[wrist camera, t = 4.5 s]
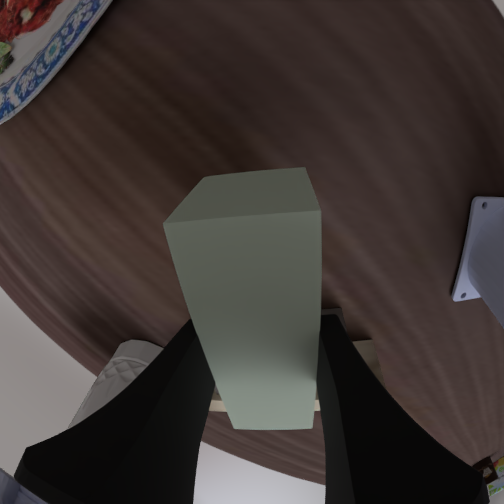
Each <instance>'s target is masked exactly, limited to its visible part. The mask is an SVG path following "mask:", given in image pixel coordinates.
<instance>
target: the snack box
mask: <svg viewBox="0 0 504 504" xmlns="http://www.w3.org/2000/svg"><path fill="white" fill-rule="evenodd" d="M493 465H494V468H495V470H496V472H497V475H498V477H499V479H498V480H496V481H495V482H493V483H491V484H490V485H488V487H489V493H490V496H492V495H494V494H496V493H498V492H499V491H501V490H503V489H504V456H503V457H502V458H500V459H499V460H497V461H496V462H494V463H493Z"/></svg>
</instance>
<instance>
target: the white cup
mask: <svg viewBox="0 0 504 504" xmlns="http://www.w3.org/2000/svg"><path fill="white" fill-rule="evenodd" d="M163 349H164V348H162V347H160V346H157V345H155V344H152V343H150V342H147V341H141V340H129V341H126V342H123V343H121V344H120V345H119V347H118V349H117V350H116V352H115V354H114V355H113V357H112V358H111V360H110V361H109V363H108V364H107V365H106V366H105V367H104V369H103V370H102V372H101V373H100V375H99V376H98V378H97V379H96V381H95V382H94V384H93V385H92V387H91V389H90V391H89V392H88V394H87V396H86V397H85V399H84V401H83V402H82V404H81V406H80V408H79V410H78V411H77V413H76V415H75V416H74V418H73V420H72V422H71V423H70V425H69V427H68V429H69V428H71V427H73V426H74V425H76V424H78V423H79V422H81V421H83V420H84V419H85V418H87V417H88V416H90V415H91V414H93V413H94V412H96V411H97V410H99V409H100V408H101V407H103V406H104V405H105V404H107V403H108V402H109V401H111V400H112V399H113V398H114V397H115V396H117V395H118V394H119V393H120V392H121V391H123V390H124V389H125V388H126V387H127V386H128V385H129V384H130V383H131V382H132V381H133V380H134V379H135V378H136V377H137V376H138V375H139V374H140V373H141V372H142V371H143V370H144V369H145V368H146V367H147V366H148V365H149V364H150V363H151V362H152V361H153V360H154V359H155V358H156V357H157V355H158V354H159V353H160V352H161V351H162V350H163Z"/></svg>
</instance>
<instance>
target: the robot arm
mask: <svg viewBox="0 0 504 504" xmlns="http://www.w3.org/2000/svg"><path fill="white" fill-rule="evenodd" d="M483 203H484V206H483V207H482V204H483ZM451 297H452V299H453V300H454V301H462V300H468V299H473V298H478V297H482V299H483V300H484V301H485V303H486V304H487V306H488V307H489V308H490V310H491V311H492V312H493V314H494V315H495V317H496V318H497V320H498V321H499V322H500V324H501V325H502V327H503V328H504V197H482V196H477V197H475V198H474V199H473V200H472V204H471V211H470V217H469V223H468V229H467V234H466V239H465V244H464V249H463V253H462V258H461V262H460V266H459V270H458V274H457V278H456V281H455V285H454V288H453V292H452V296H451ZM215 384H216V382H215V380H214V377H213V375H212V372H211V370H210V367H209V364H208V362H207V359H206V356H205V354H204V351H203V348H202V345H201V343H200V340H199V337H198V334H197V333H196V330H195V328H194V325H193V322H192V319H189V320H188V321H187V323H186V324H185V325H184V326H183V327H182V328H181V329H180V330H179V332H178V333H177V334H176V335H175V336H174V337H173V338H172V340H171V341H170V342H169V343H168V344H167V345H166V347H165V348H164V349H163V350H162V351H161V352H160V353H159V354H158V355H157V357H156V358H155V359H154V360H153V361H152V362H151V363H150V364H149V365H148V366H147V367H146V368H145V369H144V370H143V371H142V372H141V373H140V374H139V375H138V376H137V377H136V378H135V379H134V380H133V381H132V382H131V383H130V384H129V385H128V386H127V387H126V388H125V389H124V390H123V391H121V392H120V393H119V394H118V395H117V396H115V397H114V398H113V399H112V400H111V401H109V402H108V403H107V404H105V405H104V406H103V407H101V408H100V409H99V410H97V411H96V412H94V413H93V414H91V415H90V416H88V417H87V418H85V419H84V420H83V421H81V422H79V423H78V424H76V425H74V426H73V427H71V428H69V429H67V430H65V431H64V432H62V433H60V434H58V435H56V436H54V437H51V438H49V439H47V440H45V441H42V442H40V443H37V444H35V445H32V446H30V447H27V448H26V449H25V452H24V454H23V456H22V458H21V460H20V463H19V465H18V467H17V470H16V472H15V474H14V477H12V476H11V475H9V474H8V473H6V472H5V471H4V470H3V469H2V468H0V504H193V497H194V486H195V476H196V468H197V461H198V453H199V447H200V442H201V438H202V434H203V430H204V426H205V423H206V419H207V415H208V412H209V408H210V404H211V400H212V396H213V393H214V389H215ZM316 385H317V392H318V398H319V405H320V411H321V418H322V425H323V432H324V440H325V453H326V496H325V504H489V502H490V500H489V495H488V490H487V485H486V482H485V480H484V477H483V474H482V473H481V472H479V471H477V470H476V469H474V468H473V467H471V466H470V465H468V464H466V463H465V462H464V461H462V460H461V459H459V458H458V457H456V456H455V455H454V454H452V453H451V452H450V451H449V450H447V449H446V448H445V447H443V446H442V445H441V444H440V443H438V442H437V441H436V440H435V439H434V438H433V437H432V436H431V435H429V434H428V433H427V432H426V431H425V430H424V429H423V428H422V427H421V426H419V425H418V424H417V423H416V422H415V421H414V420H413V419H412V418H411V417H410V416H409V415H408V414H407V413H406V412H405V411H404V410H403V408H402V407H401V406H400V405H399V404H398V403H397V402H396V401H395V400H394V398H393V397H392V396H391V395H390V394H389V393H388V391H387V390H386V389H385V388H384V386H383V385H382V384H381V382H380V381H379V380H378V379H377V377H376V376H375V375H374V373H373V372H372V371H371V369H370V368H369V366H368V365H367V363H366V362H365V361H364V359H363V358H362V356H361V355H360V353H359V352H358V350H357V349H356V347H355V346H354V344H353V342H352V341H351V339H350V337H349V336H348V334H347V332H346V330H345V329H344V327H343V325H342V323H341V321H340V319H339V317H338V316H337V315H336V314H327V315H321V318H320V331H319V346H318V363H317V378H316Z"/></svg>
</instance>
